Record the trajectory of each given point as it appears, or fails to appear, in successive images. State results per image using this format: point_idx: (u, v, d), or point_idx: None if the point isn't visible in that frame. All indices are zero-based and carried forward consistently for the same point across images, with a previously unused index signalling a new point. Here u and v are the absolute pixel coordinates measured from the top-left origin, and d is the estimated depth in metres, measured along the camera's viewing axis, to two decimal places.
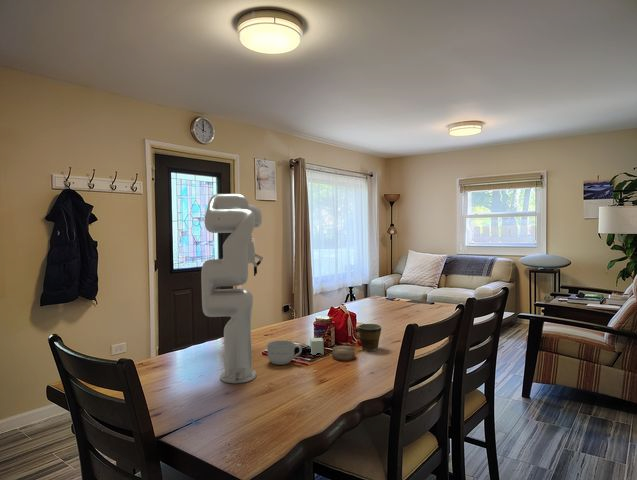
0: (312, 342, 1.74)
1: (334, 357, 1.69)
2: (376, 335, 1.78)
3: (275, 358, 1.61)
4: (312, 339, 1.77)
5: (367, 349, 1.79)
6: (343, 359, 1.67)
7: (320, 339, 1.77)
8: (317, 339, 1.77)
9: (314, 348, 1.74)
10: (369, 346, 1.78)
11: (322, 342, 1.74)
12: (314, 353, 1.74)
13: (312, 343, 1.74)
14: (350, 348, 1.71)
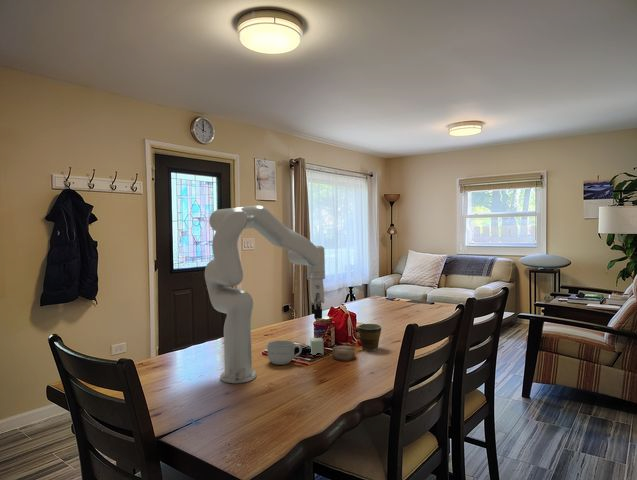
0: (312, 342, 1.74)
1: (334, 357, 1.69)
2: (376, 335, 1.78)
3: (275, 358, 1.61)
4: (312, 339, 1.77)
5: (367, 349, 1.79)
6: (343, 359, 1.67)
7: (320, 339, 1.77)
8: (317, 339, 1.77)
9: (314, 348, 1.74)
10: (369, 346, 1.78)
11: (322, 342, 1.74)
12: (314, 353, 1.74)
13: (312, 343, 1.74)
14: (350, 348, 1.71)
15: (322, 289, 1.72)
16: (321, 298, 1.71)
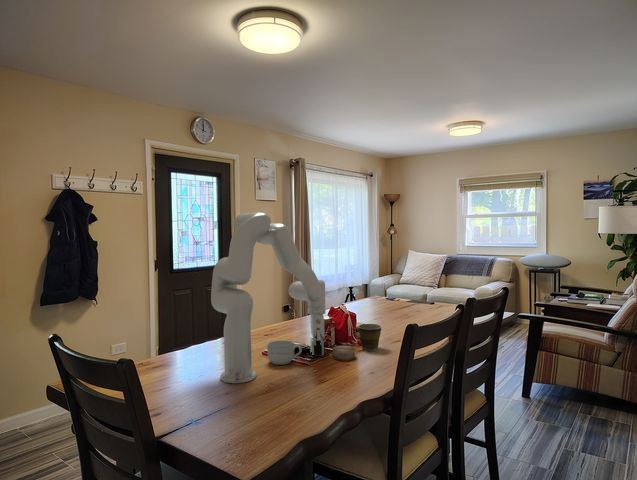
0: (312, 342, 1.74)
1: (334, 357, 1.69)
2: (376, 335, 1.78)
3: (275, 358, 1.61)
4: (312, 339, 1.77)
5: (367, 349, 1.79)
6: (343, 359, 1.67)
7: None
8: None
9: None
10: (369, 346, 1.78)
11: (322, 342, 1.75)
12: None
13: (312, 343, 1.74)
14: (350, 348, 1.71)
15: (322, 324, 1.72)
16: (321, 333, 1.72)
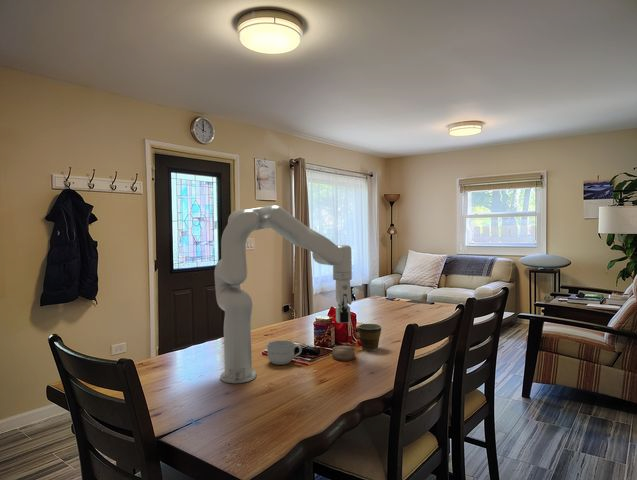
0: (338, 309, 1.68)
1: (334, 357, 1.69)
2: (376, 335, 1.78)
3: (275, 358, 1.61)
4: (338, 306, 1.71)
5: (367, 349, 1.79)
6: (343, 359, 1.67)
7: None
8: (343, 306, 1.71)
9: None
10: (369, 346, 1.78)
11: (349, 309, 1.68)
12: None
13: (338, 310, 1.68)
14: (350, 348, 1.71)
15: (349, 290, 1.66)
16: (348, 299, 1.66)
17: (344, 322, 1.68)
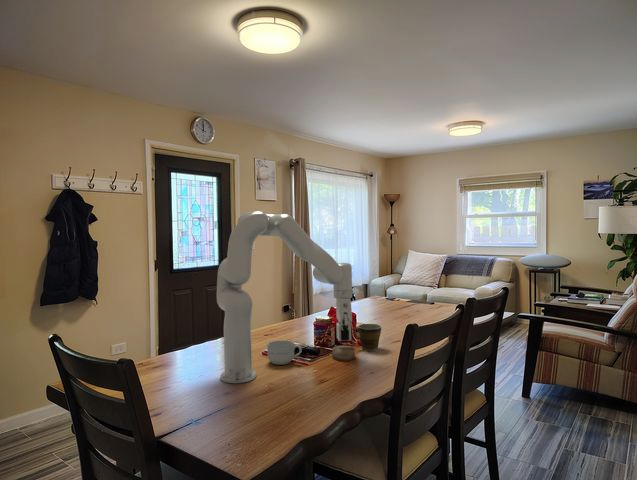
0: (339, 327, 1.68)
1: (334, 357, 1.69)
2: (376, 335, 1.78)
3: (275, 357, 1.61)
4: (339, 324, 1.71)
5: (367, 349, 1.79)
6: (343, 359, 1.67)
7: None
8: None
9: None
10: (369, 346, 1.78)
11: (350, 327, 1.69)
12: None
13: (339, 328, 1.68)
14: (350, 348, 1.71)
15: (350, 308, 1.66)
16: (349, 317, 1.66)
17: (345, 340, 1.69)
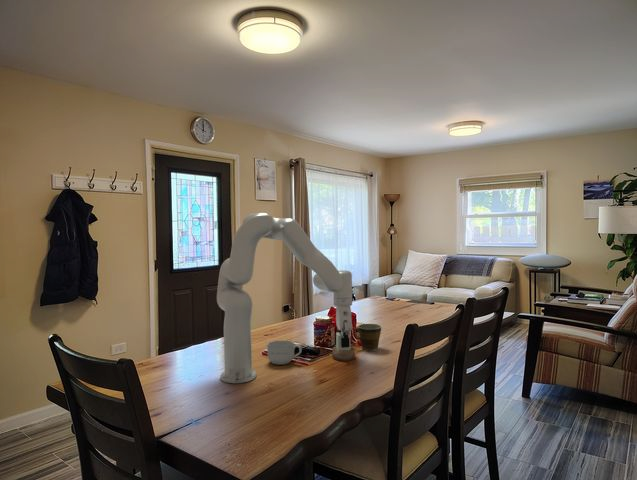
0: (339, 336, 1.68)
1: (334, 357, 1.69)
2: (376, 335, 1.78)
3: (275, 357, 1.61)
4: (338, 333, 1.71)
5: (367, 349, 1.79)
6: (343, 359, 1.67)
7: None
8: (343, 333, 1.71)
9: None
10: (369, 346, 1.78)
11: (349, 336, 1.69)
12: (341, 348, 1.68)
13: (339, 337, 1.68)
14: None
15: (350, 316, 1.66)
16: (349, 325, 1.66)
17: (344, 349, 1.69)
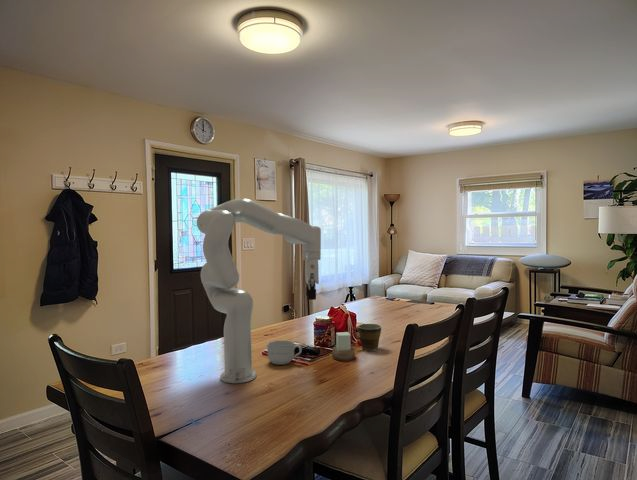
0: (339, 336, 1.68)
1: (334, 357, 1.69)
2: (376, 335, 1.78)
3: (275, 357, 1.61)
4: (338, 333, 1.71)
5: (367, 349, 1.79)
6: (343, 359, 1.67)
7: (347, 333, 1.71)
8: (343, 333, 1.71)
9: (341, 343, 1.68)
10: (369, 346, 1.78)
11: (349, 336, 1.69)
12: (341, 348, 1.68)
13: (339, 337, 1.68)
14: None
15: (317, 269, 1.69)
16: (315, 278, 1.69)
17: (344, 349, 1.69)
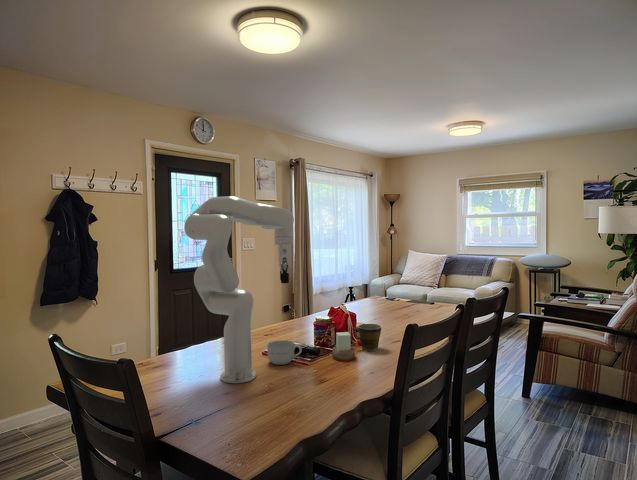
0: (339, 336, 1.68)
1: (334, 357, 1.69)
2: (376, 335, 1.78)
3: (275, 358, 1.61)
4: (338, 333, 1.71)
5: (367, 349, 1.79)
6: (343, 359, 1.67)
7: (347, 333, 1.71)
8: (343, 333, 1.71)
9: (341, 343, 1.68)
10: (369, 346, 1.78)
11: (349, 336, 1.69)
12: (341, 348, 1.68)
13: (339, 337, 1.68)
14: None
15: (289, 253, 1.72)
16: (288, 262, 1.72)
17: (344, 349, 1.69)
